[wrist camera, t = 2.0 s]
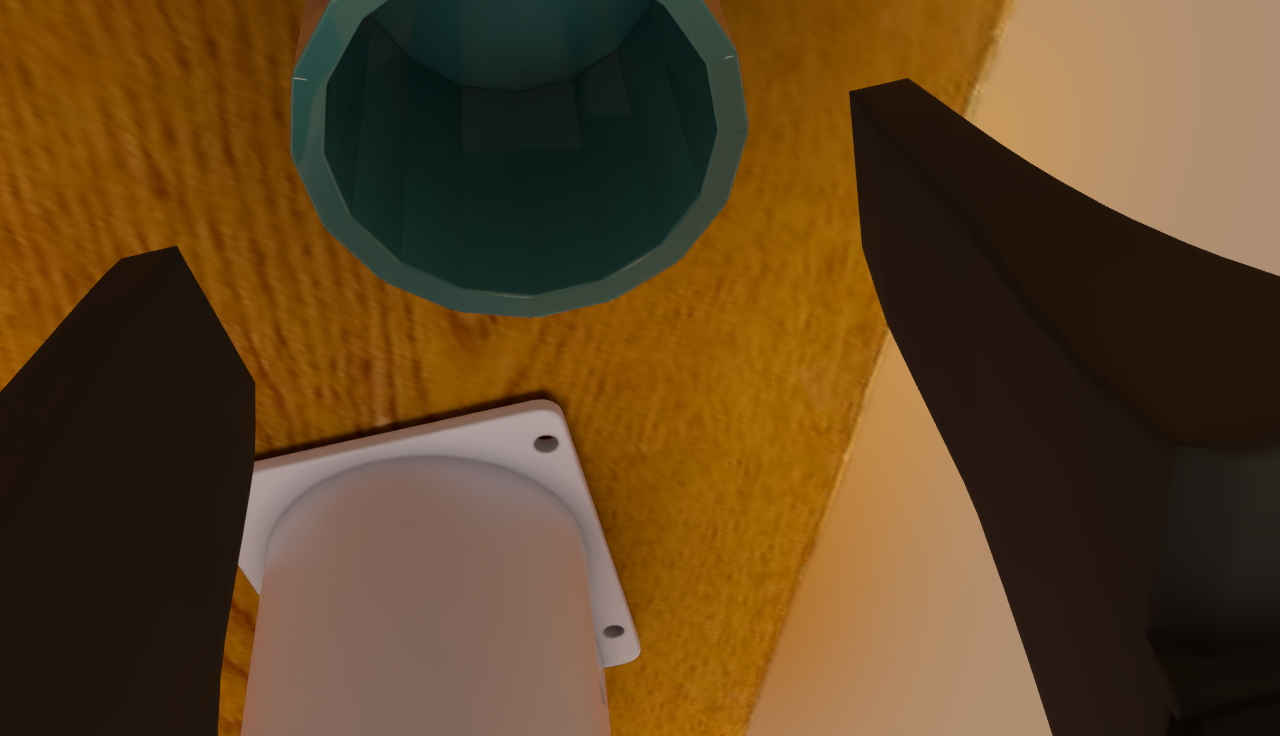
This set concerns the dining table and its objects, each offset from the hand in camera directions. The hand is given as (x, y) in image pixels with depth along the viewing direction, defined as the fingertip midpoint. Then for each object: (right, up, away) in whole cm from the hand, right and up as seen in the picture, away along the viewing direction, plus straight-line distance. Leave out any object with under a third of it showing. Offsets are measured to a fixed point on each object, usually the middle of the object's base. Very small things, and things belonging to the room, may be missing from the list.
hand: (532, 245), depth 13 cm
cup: (-1, +5, +6) cm, 8 cm away
